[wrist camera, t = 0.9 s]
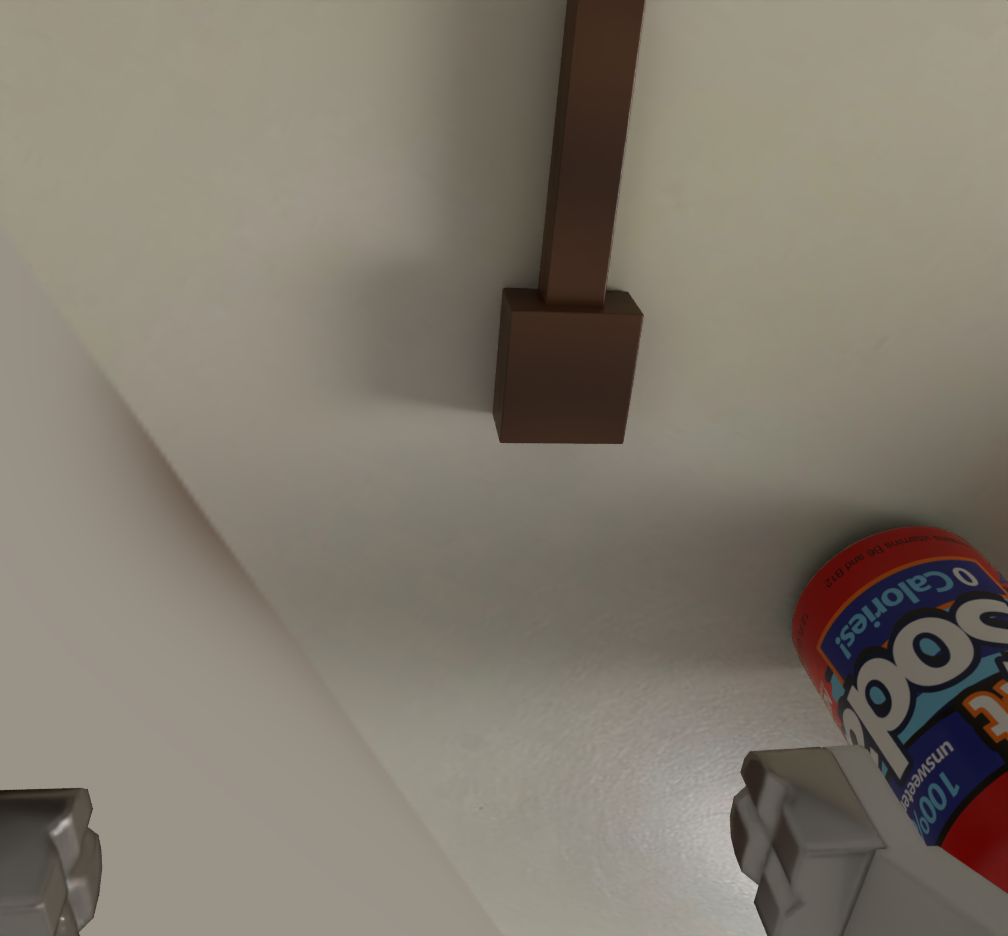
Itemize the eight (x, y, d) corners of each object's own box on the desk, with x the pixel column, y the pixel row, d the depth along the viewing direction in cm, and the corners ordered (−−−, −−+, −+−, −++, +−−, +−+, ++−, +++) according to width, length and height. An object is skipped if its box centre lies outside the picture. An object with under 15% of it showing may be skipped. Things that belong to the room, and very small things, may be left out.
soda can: (884, 691, 41) (1124, 1052, 28) (742, 634, 38) (936, 1005, 25) (1013, 555, 38) (1348, 890, 25) (869, 482, 35) (1162, 817, 22)
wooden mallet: (528, -35, 25) (540, -30, 23) (675, -22, 26) (698, -17, 24) (492, 414, 32) (499, 443, 30) (609, 416, 32) (623, 444, 31)
